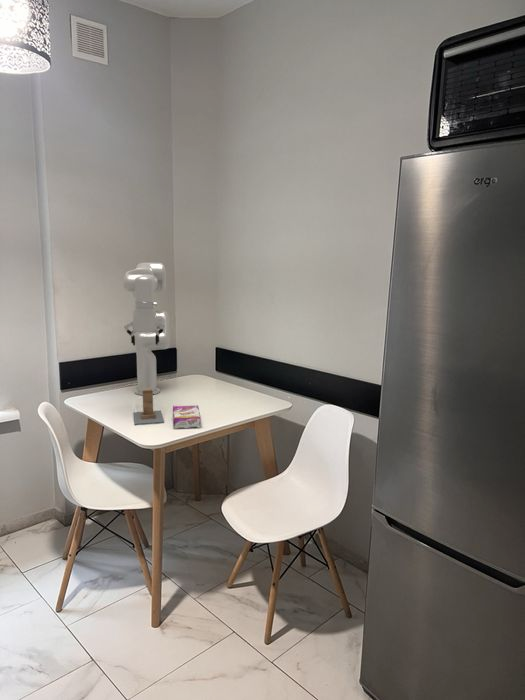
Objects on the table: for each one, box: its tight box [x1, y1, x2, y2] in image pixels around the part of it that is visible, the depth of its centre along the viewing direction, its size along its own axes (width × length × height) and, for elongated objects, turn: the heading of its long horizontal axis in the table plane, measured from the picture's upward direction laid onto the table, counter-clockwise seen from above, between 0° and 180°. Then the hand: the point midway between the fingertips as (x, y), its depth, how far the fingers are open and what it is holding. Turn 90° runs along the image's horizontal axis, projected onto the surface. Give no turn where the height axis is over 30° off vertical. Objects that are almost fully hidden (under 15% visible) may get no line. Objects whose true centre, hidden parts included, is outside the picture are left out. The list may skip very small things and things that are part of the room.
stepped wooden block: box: [140, 388, 156, 419], centre depth 218 cm, size 6×6×12 cm
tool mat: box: [133, 410, 165, 426], centre depth 219 cm, size 16×12×1 cm
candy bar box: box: [172, 405, 202, 429], centre depth 214 cm, size 11×5×16 cm
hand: (145, 344), depth 222 cm, fingers open, 9 cm apart
